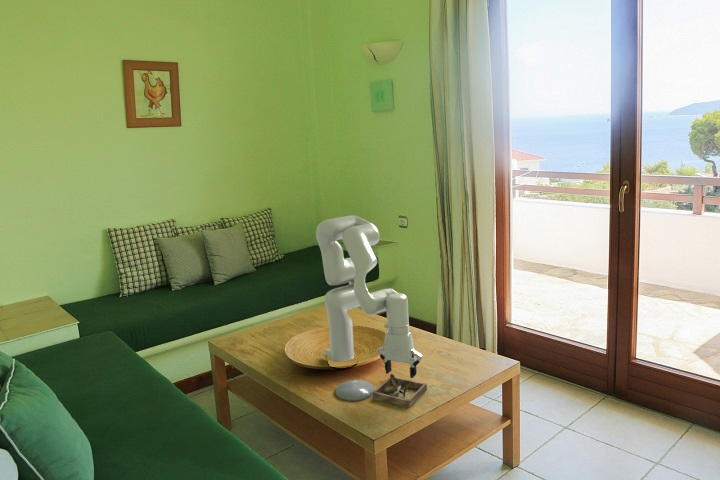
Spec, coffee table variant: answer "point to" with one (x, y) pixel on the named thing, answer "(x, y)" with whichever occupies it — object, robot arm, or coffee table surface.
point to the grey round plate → (354, 390)
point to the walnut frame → (396, 400)
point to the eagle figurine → (397, 388)
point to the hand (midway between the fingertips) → (400, 374)
